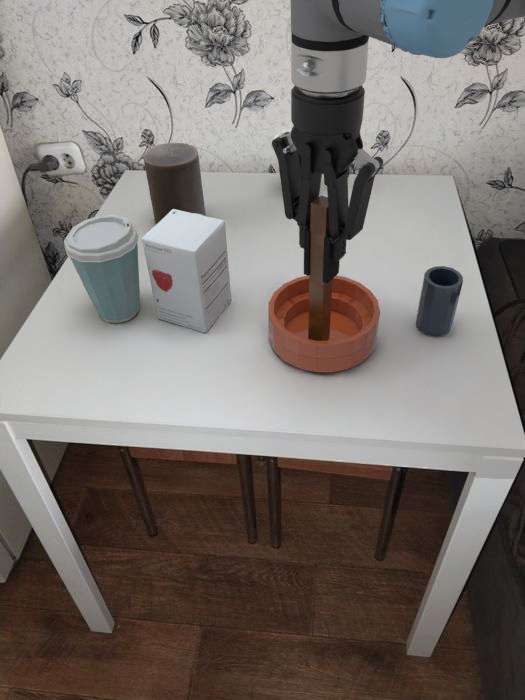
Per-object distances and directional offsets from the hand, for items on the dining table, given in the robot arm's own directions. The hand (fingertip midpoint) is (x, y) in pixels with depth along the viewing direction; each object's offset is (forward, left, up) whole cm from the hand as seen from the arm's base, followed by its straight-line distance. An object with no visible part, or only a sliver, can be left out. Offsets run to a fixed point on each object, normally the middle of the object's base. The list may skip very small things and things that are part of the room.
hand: (321, 273), depth 76 cm
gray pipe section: (-11, -15, -14) cm, 23 cm away
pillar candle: (+41, -15, -14) cm, 46 cm away
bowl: (+1, -3, -14) cm, 14 cm away
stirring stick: (0, 0, -12) cm, 12 cm away
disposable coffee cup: (+31, +10, -14) cm, 36 cm away
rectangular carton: (+21, +3, -14) cm, 25 cm away
